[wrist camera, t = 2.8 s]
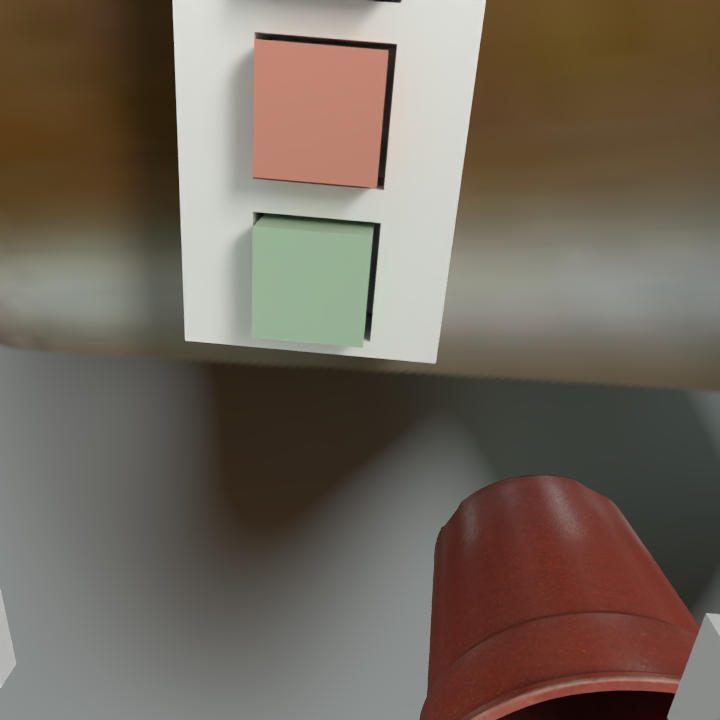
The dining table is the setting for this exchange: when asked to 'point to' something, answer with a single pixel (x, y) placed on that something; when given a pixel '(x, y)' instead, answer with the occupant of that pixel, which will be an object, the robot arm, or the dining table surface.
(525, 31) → the dining table surface
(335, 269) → the sage key
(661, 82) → the dining table surface
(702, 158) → the dining table surface
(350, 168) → the brick key
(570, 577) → the flower pot
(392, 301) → the key panel
